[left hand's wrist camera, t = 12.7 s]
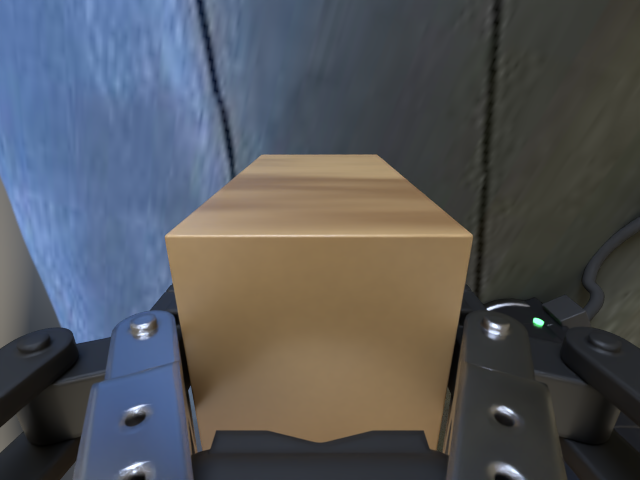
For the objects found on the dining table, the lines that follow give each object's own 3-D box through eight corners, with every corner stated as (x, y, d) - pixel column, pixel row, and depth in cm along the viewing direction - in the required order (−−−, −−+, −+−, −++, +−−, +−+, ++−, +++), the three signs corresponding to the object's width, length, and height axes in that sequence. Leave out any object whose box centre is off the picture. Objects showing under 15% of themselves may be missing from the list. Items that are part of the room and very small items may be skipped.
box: (261, 154, 17) (163, 235, 6) (377, 154, 17) (475, 235, 6) (281, 481, 26) (254, 747, 15) (358, 481, 26) (386, 746, 15)
